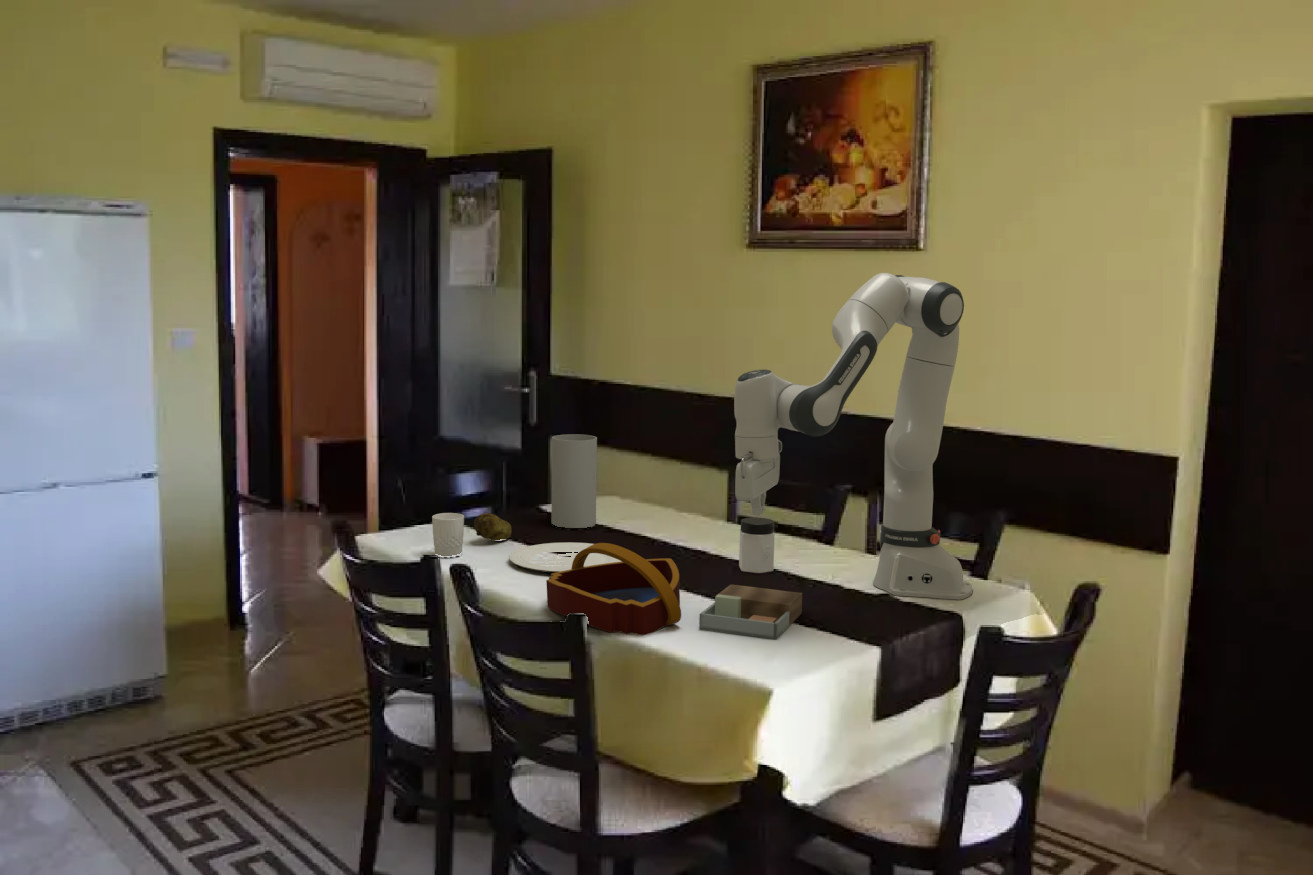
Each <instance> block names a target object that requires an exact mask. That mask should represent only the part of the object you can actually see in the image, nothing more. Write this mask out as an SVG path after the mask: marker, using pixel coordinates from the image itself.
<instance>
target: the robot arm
mask: <svg viewBox="0 0 1313 875" xmlns="http://www.w3.org/2000/svg"><path fill="white" fill-rule="evenodd" d="M964 307H965V303H964V298H963V295H962V292H961V291H960V289H959V288H957V287H956V286H954V285H952V284H950V283H948V282H945V281H938V280H935V279H932V278H927V277H922V276H920V277H917V276H905V275H902V274H895V275H894V274H893V273H890V272H879V273H877V274H875V275H874V276H872V277H871V278H870V279H868V281H866V282H865V283H864V284H862V286H860V287H859V288H858V289H856V291H855V292H854V293H853V294H852V295H851V296H850V297H849V298H848V299H847V300H846V302H845V303H844V304H843V306H842V307H841V308H840V309H839V310H838V311H837V314H836V315H835V317H834V318H833V320H832V323H831V334H832V337H833V340H834V341H835V343H836V345H837V346H838V347H839V348H840V349H841V351H840V354H839V355H838V358H836V360H835V362H834V363H833V365H832V366H831V368H830V369H829V370H828V372H827V373H826V375H825V376H824V378H823V379H822V380H820V381H819V382H817V383H815V384H811V385H805V384H804V385H803V384H801V383H798V384H797V383H794V382H792V381H789V380H786V379H783V378H781V377H779V376H778V375H776V374H775V373H774V372H773V371H772V370H770V369H757V370H756V369H755V370H751V371H750V370H749V371H747V372H744V373H742V374H741V375H740V376H738V378H737V380H736V383H735V388H734V395H733V396H734V398H733V400H734V402H733V403H734V404H733V406H734V407H733V408H734V409H733V411H734V412H733V413H734V419H735V422H736V427H735V433H734V442H735V443H734V445H735V448H734V449H735V450H734V452H735V458H736V459H738V460H741V461H740V462H738V463H737V465H736V469H735V478H734V479H735V484H734V486H735V487H734V488H735V489H734V492H735V493H734V495H735V498H736V500H737V501H744V502H746V501H747V502H750V506H751V513H752V515H753V516H760V515H762V514H763V513H764V512H765V503H766V499H767V491H769V490H770V489H772V488H773V487H774V486H776V485H778V483H779V479H780V472H781V471H780V469H781V468H780V465H781V454H780V453H781V452H782V450H783V442H782V441H781V440H780V439H779V438H778V436H779V435H778V434H779V433H778V432H779V429H780V428H782V429H787V430H790V431H795V432H800V433H801V434H803V435H807V436H810V437H821V436H822V437H823V436H825V435H827V434H828V433H830V432H831V431H832V430H833V429H834V428H835V426H836V425H837V423H838V421H839V419H840V416H841V415H842V411H843V409H844V406H845V404H846V402H847V400H848V398H849V397H850V396H851V393H852V392H853V391H854V389H855V388H856V386H857V385H858V383H859V382H860V381H861V379H862V377H863V376H864V374H865V373H866V371H867V369H868V368H869V367H870V365H871V363H872V361H873V360H874V358H875V356H876V354H877V350H878V347H879V345H880V343H881V342H882V341H883V339H884V338H885V336H886V335H887V334H888V333H889V332H890V331H891V329H892V328H893V327H894V325H895V324H898V325H902V326H904V327H909V328H911V334H912V336H911V339H910V341H909V345H908V348H907V351H906V355H905V359H904V360H905V361H904V364H903V369H902V374H901V378H900V382H899V385H898V390H897V398H896V399H897V400H896V406H895V411H894V416H893V422H892V423H890V425H889V427H888V428H887V430H886V433H885V436H884V477H883V478H884V479H883V480H884V482H883V484H884V489H883V490H884V494H883V495H884V496H883V497H884V498H883V517H882V518H883V519H882V524H881V525H880V530H879V531H880V532H879V548H880V551H879V552H880V553H879V554H880V555H879V558H878V565H877V569H876V573H875V576H874V578H873V581H872V584H873V585H874V586H875V587H876V588H878V589H881V590H883V591H887V592H888V593H890V594H891V595H894V596H900V597H901V596H902V597H914V598H915V597H916V598H917V597H918V598H927V599H929V598H930V599H943V600H944V599H945V600H948V599H949V600H963V599H967V598H969V597H970V596H971V595H972V594H973V592H974V590H973V584H972V583H970V582H969V581H966V580H964V572H963V568H962V564H961V562H960V561H959V560H958V559H957V558H956V557H955V556H954V555H952V554H951V553H950V552H949V551H947V550H946V549H945V547H943V546H942V545H940V543H941V530H940V529H935V527H932V524H933V506H934V505H933V504H934V482H933V481H934V479H933V478H934V476H933V475H934V474H933V465H934V463H935V461H936V460H937V457H938V454H939V451H940V450H939V449H940V446H941V445H940V444H941V440H942V435H943V428H944V422H945V416H946V409H947V401H948V396H949V392H950V388H951V384H952V380H953V375H954V371H955V367H956V362H957V357H958V352H959V351H958V350H959V345H960V344H959V343H960V342H959V341H960V324H959V323H960V321H961V319H962V317H963V314H964V309H965V308H964Z"/></svg>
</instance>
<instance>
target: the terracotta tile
mask: <svg viewBox="0 0 1313 875" xmlns="http://www.w3.org/2000/svg"><path fill="white" fill-rule="evenodd" d="M749 620H756V621H764V622H772V623H775V622H776V621H777V618H773V617H765V616H758V615H753V616H751V617H750V618H749Z"/></svg>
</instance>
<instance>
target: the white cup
mask: <svg viewBox="0 0 1313 875" xmlns="http://www.w3.org/2000/svg"><path fill="white" fill-rule="evenodd" d="M431 519H432V520H431V521H432V536H433V537H432V539H433V547H434V549H433V550H434V555H435V554H438V555H441V556H452V555H457V554H460V553H461V552H462V553H463V544H464V532H465V531H464V528H465V526H464V525H465V515H464V514H461V513H458V512H457V513H456V512H455V513H454V512H442V513H436V514H434V515H432V516H431Z"/></svg>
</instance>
